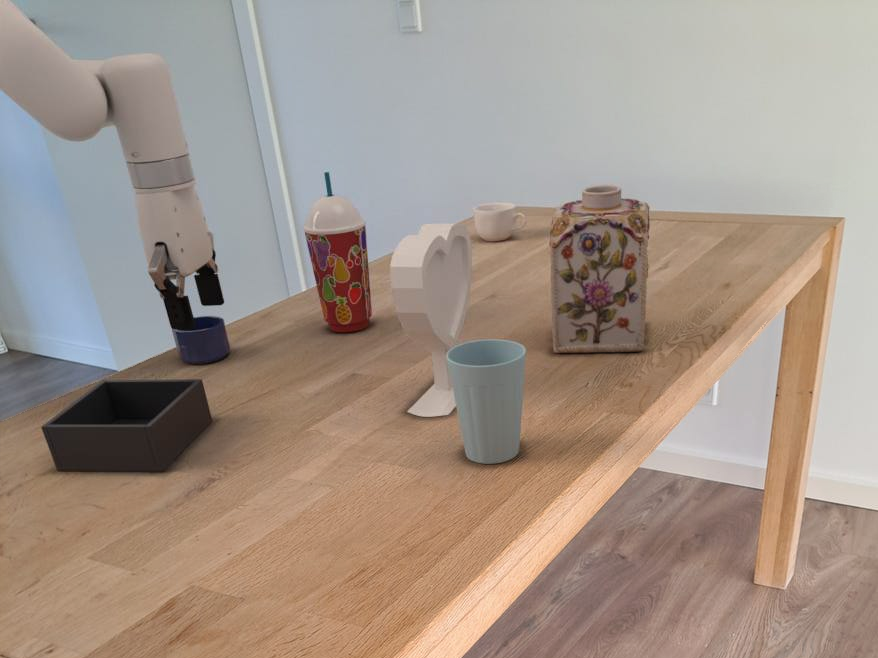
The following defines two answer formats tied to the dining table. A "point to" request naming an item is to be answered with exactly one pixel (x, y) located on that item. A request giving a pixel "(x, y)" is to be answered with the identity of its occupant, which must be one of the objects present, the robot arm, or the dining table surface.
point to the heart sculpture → (433, 301)
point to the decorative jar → (599, 272)
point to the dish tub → (128, 425)
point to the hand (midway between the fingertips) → (199, 316)
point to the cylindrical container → (202, 341)
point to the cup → (488, 397)
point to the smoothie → (339, 261)
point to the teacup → (496, 220)
